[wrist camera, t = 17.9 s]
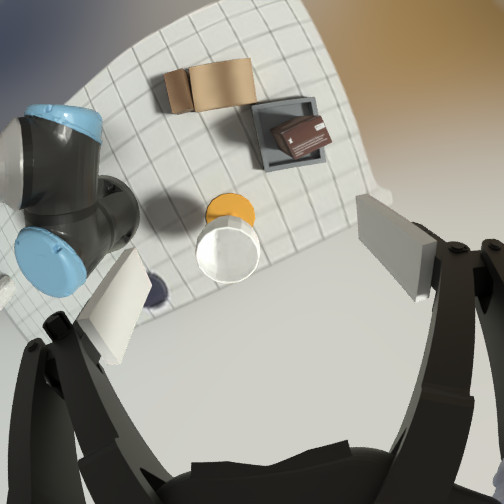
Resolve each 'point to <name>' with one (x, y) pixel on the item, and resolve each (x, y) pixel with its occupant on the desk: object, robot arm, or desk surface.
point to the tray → (275, 115)
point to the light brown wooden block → (222, 84)
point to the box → (301, 135)
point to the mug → (6, 290)
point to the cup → (228, 240)
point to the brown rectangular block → (179, 91)
